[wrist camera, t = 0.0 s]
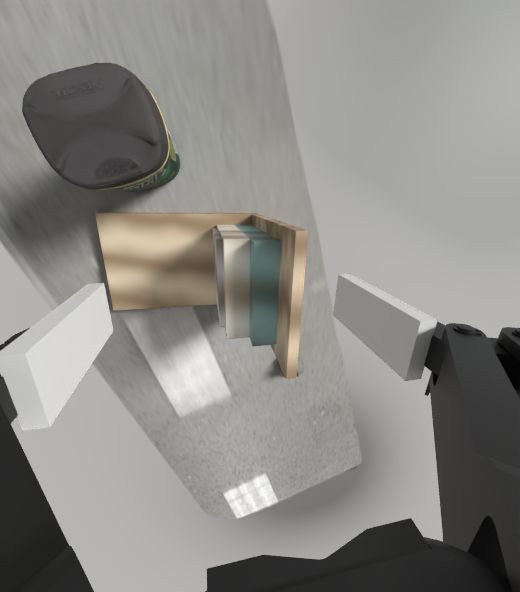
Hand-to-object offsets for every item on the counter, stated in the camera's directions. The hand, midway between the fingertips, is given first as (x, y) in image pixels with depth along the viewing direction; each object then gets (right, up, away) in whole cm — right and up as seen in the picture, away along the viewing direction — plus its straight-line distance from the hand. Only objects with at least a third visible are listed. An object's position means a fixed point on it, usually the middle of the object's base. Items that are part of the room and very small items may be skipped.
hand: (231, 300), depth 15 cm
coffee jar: (-14, +19, +21) cm, 31 cm away
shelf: (-10, +6, +26) cm, 29 cm away
